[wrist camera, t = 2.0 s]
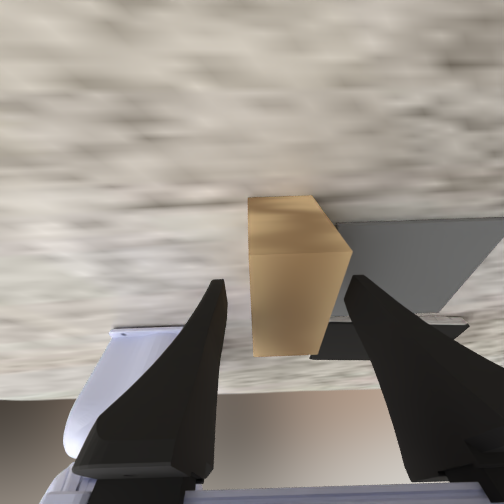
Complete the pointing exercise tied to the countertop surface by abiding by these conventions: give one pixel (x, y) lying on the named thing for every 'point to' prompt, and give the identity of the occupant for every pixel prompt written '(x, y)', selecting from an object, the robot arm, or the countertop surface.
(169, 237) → the countertop surface
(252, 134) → the countertop surface
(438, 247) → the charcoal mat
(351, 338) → the smartphone
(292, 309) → the oak slab
